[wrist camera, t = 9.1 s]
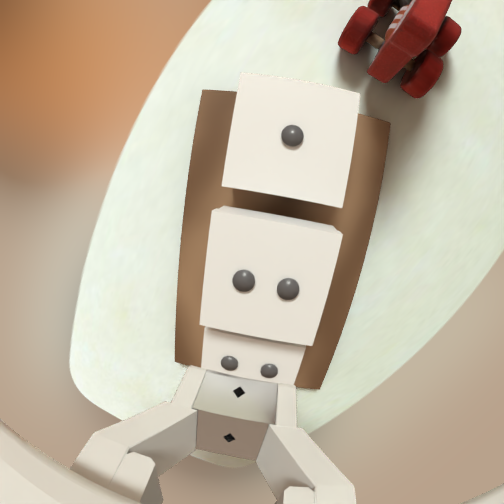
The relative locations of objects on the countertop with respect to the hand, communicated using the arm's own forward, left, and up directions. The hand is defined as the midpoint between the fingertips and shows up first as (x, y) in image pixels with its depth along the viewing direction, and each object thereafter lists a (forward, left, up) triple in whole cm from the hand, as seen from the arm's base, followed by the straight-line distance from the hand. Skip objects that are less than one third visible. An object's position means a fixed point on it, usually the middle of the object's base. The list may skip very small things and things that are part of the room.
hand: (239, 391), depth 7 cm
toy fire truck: (-7, -19, -14) cm, 25 cm away
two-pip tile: (0, 0, -11) cm, 11 cm away
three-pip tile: (0, +8, -12) cm, 15 cm away
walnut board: (0, 0, -14) cm, 14 cm away
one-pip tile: (0, -8, -12) cm, 15 cm away
